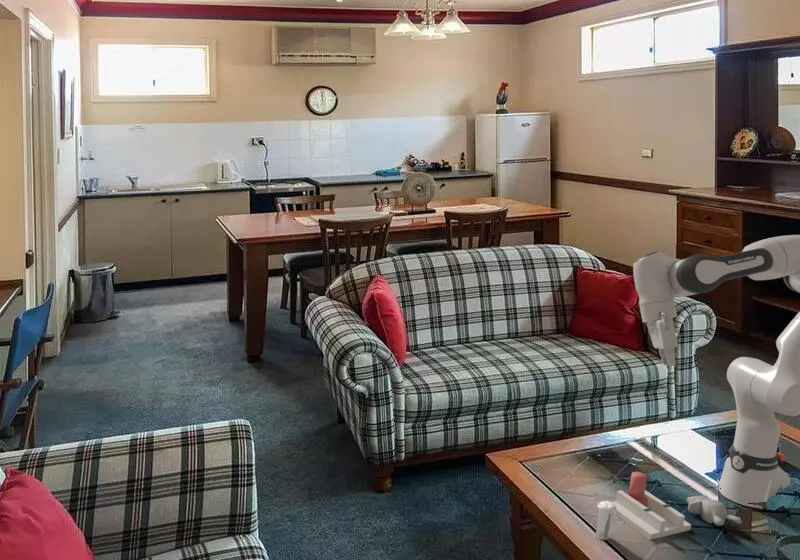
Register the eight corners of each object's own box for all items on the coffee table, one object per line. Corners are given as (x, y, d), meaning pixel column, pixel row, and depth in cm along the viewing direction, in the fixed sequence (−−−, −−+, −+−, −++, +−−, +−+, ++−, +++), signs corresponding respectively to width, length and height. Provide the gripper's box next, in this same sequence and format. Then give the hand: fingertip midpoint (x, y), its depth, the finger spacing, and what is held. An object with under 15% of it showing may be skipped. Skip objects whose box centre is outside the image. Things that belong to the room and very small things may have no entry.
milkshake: (592, 528, 189) (598, 492, 187) (613, 535, 187) (619, 499, 184) (587, 536, 185) (593, 499, 183) (609, 543, 183) (615, 506, 181)
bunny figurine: (708, 490, 207) (747, 512, 192) (706, 507, 207) (745, 531, 193) (679, 492, 204) (716, 514, 190) (677, 510, 204) (714, 534, 190)
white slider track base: (645, 499, 206) (647, 484, 205) (690, 530, 192) (693, 513, 191) (606, 508, 200) (608, 491, 199) (649, 539, 186) (652, 522, 185)
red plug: (635, 498, 203) (639, 470, 201) (646, 506, 199) (651, 477, 197) (622, 500, 201) (627, 472, 199) (634, 508, 197) (639, 480, 195)
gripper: (677, 309, 187) (688, 364, 185) (665, 312, 207) (675, 362, 205) (651, 314, 188) (662, 368, 187) (642, 316, 208) (652, 365, 206)
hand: (669, 365), depth 196 cm, fingers open, 8 cm apart
